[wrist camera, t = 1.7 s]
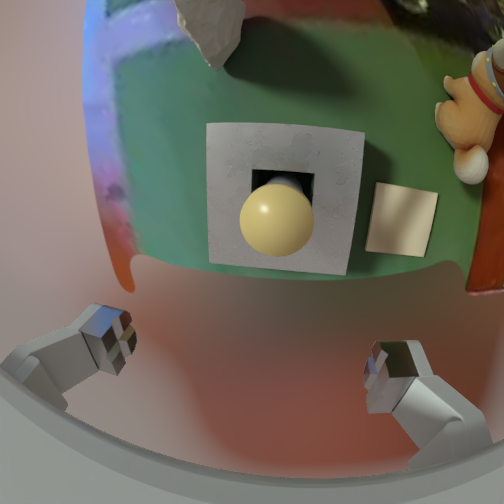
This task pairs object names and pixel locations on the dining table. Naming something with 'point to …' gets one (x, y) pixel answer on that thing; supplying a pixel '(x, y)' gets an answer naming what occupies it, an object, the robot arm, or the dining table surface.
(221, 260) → the housing
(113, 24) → the dining table surface
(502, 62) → the toy
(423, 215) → the coaster
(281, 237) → the plug
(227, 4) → the stone tool
